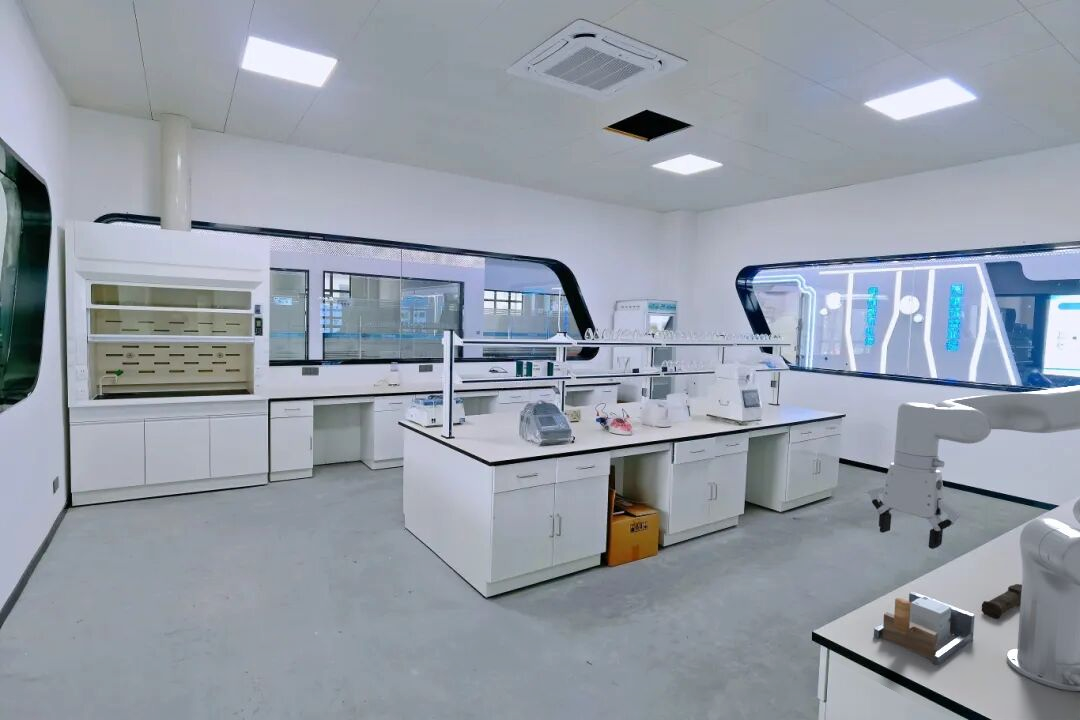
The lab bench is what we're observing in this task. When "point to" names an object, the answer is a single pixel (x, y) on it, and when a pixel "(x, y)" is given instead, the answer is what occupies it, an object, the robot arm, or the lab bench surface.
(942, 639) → the skincare box
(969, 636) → the clamp frame
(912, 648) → the sliding jaw
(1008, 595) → the hand tool
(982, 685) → the lab bench surface
